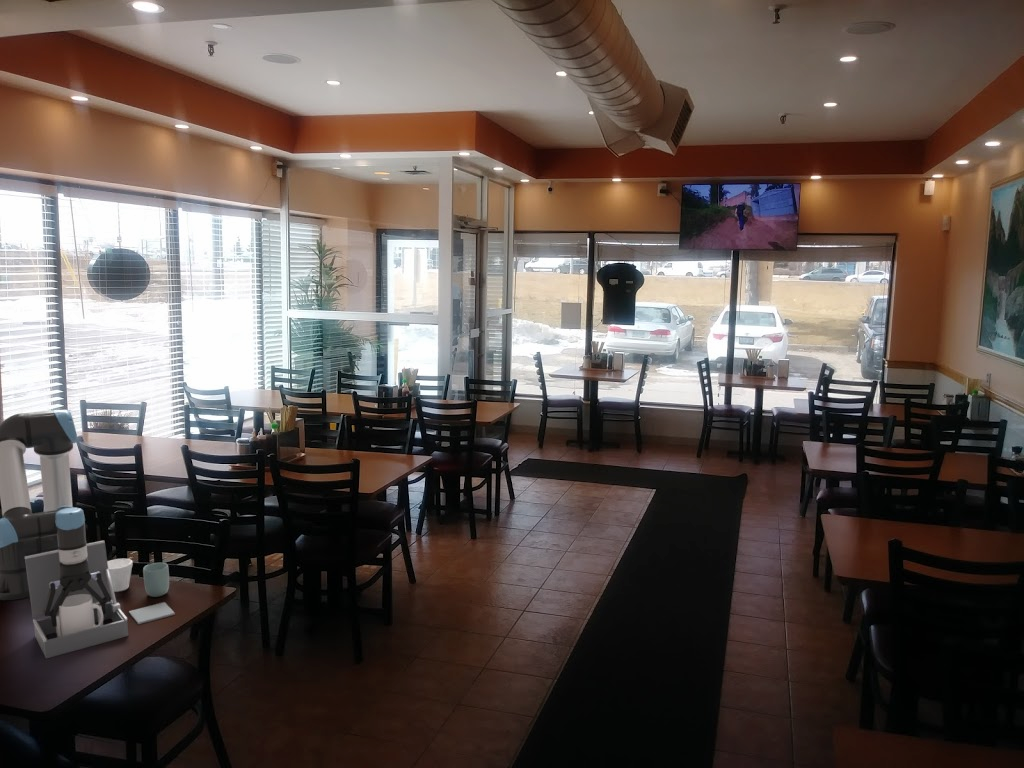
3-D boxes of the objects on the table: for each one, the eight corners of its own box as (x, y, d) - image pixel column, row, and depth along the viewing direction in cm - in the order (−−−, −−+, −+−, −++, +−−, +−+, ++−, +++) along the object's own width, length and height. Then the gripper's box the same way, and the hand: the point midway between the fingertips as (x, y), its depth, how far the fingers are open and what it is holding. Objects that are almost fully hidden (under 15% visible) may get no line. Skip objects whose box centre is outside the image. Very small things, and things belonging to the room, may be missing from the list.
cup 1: (114, 582, 287) (112, 557, 286) (140, 584, 286) (138, 558, 285) (96, 594, 278) (94, 568, 276) (123, 595, 276) (121, 569, 275)
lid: (33, 618, 245) (32, 617, 246) (112, 598, 259) (111, 597, 260) (25, 557, 245) (24, 556, 246) (104, 540, 259) (103, 540, 260)
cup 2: (149, 601, 271) (147, 572, 270) (142, 594, 277) (139, 566, 275) (173, 594, 276) (171, 566, 275) (165, 588, 282) (163, 560, 280)
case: (33, 635, 247) (28, 585, 245) (114, 614, 261) (109, 567, 259) (45, 658, 232) (40, 606, 230) (130, 635, 246) (125, 585, 244)
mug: (61, 634, 248) (57, 597, 246) (105, 625, 253) (101, 590, 251) (59, 646, 239) (55, 609, 238) (105, 638, 244) (101, 601, 243)
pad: (129, 612, 262) (129, 611, 262) (164, 603, 269) (164, 602, 269) (138, 624, 254) (138, 622, 254) (174, 614, 260) (174, 612, 260)
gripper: (31, 573, 232) (38, 645, 235) (118, 554, 246) (124, 623, 250) (27, 565, 238) (34, 637, 241) (112, 548, 252) (118, 615, 255)
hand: (80, 630), depth 245 cm, fingers closed on mug, 11 cm apart
